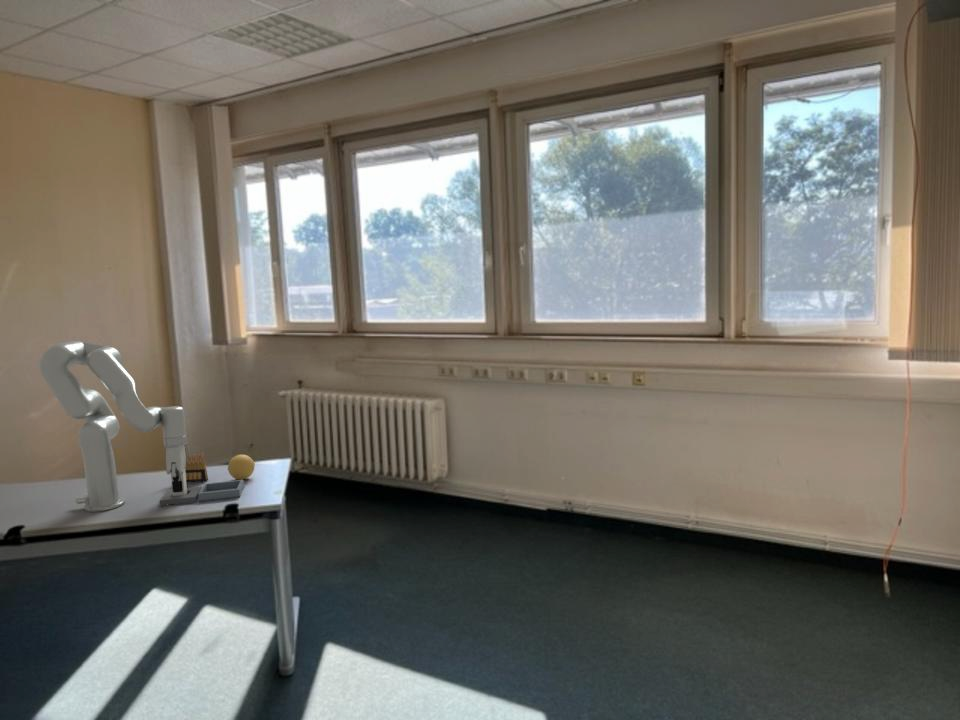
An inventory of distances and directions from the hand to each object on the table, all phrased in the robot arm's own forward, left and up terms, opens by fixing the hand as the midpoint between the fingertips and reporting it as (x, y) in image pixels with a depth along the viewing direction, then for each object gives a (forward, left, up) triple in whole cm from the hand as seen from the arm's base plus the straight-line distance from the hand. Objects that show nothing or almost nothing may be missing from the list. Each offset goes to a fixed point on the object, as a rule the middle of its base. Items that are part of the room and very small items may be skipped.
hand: (179, 489), depth 238 cm
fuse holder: (0, 0, -4) cm, 4 cm away
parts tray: (+14, 0, -4) cm, 15 cm away
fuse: (0, 0, -3) cm, 3 cm away
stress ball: (+19, +17, -4) cm, 26 cm away
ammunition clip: (0, +21, -4) cm, 21 cm away
